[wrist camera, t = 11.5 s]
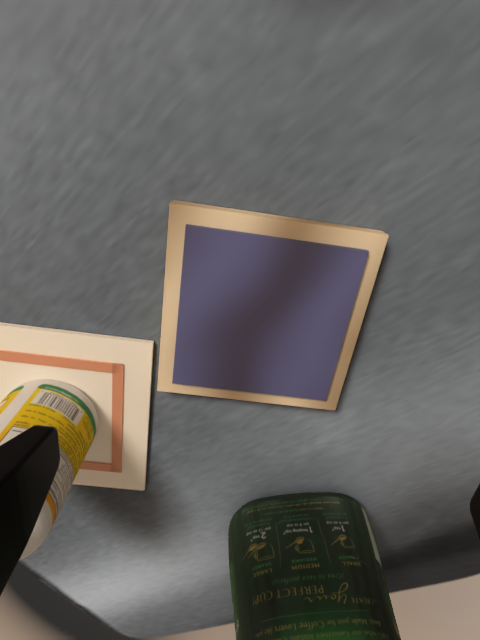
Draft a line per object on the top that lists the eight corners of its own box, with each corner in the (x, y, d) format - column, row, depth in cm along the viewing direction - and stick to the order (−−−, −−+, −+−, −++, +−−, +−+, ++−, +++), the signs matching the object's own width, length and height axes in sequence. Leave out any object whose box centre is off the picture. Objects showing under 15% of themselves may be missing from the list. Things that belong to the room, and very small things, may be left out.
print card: (154, 340, 21) (152, 344, 20) (145, 487, 25) (144, 492, 25) (-59, 315, 20) (-64, 318, 20) (-28, 470, 25) (-32, 475, 24)
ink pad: (381, 230, 18) (391, 236, 17) (331, 399, 23) (336, 414, 21) (172, 199, 18) (168, 203, 17) (160, 380, 22) (156, 394, 21)
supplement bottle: (88, 371, 21) (-13, 531, 12) (109, 446, 23) (36, 625, 15) (-8, 379, 21) (-174, 542, 13) (22, 452, 24) (-102, 634, 15)
